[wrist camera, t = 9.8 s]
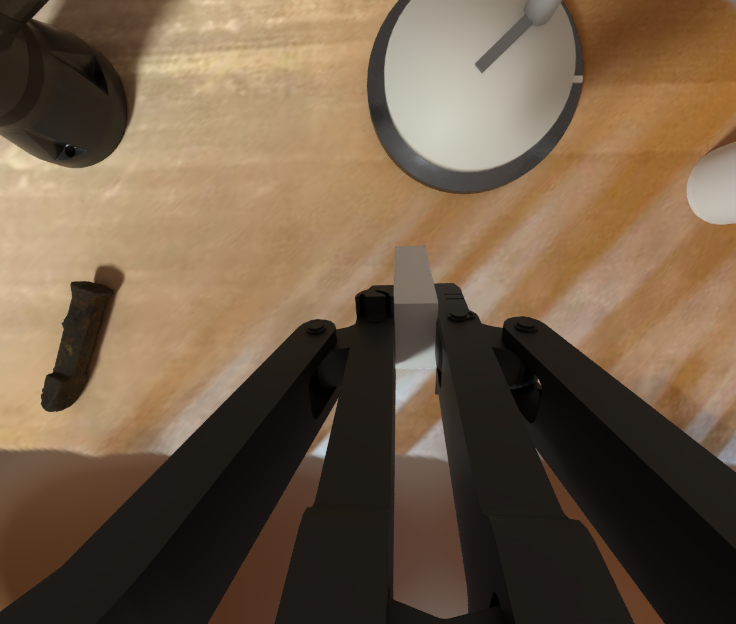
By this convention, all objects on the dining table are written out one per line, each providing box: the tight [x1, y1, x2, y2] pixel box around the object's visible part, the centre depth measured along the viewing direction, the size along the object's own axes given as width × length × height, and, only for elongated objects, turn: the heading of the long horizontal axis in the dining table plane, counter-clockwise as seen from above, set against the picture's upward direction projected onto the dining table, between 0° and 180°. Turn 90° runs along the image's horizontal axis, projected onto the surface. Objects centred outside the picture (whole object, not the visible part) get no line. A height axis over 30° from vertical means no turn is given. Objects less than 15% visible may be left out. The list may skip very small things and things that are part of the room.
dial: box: [384, 0, 576, 173], centre depth 32 cm, size 20×20×11 cm
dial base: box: [367, 0, 583, 194], centre depth 38 cm, size 24×24×2 cm
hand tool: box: [41, 281, 114, 412], centre depth 45 cm, size 19×4×5 cm, turn 156°
